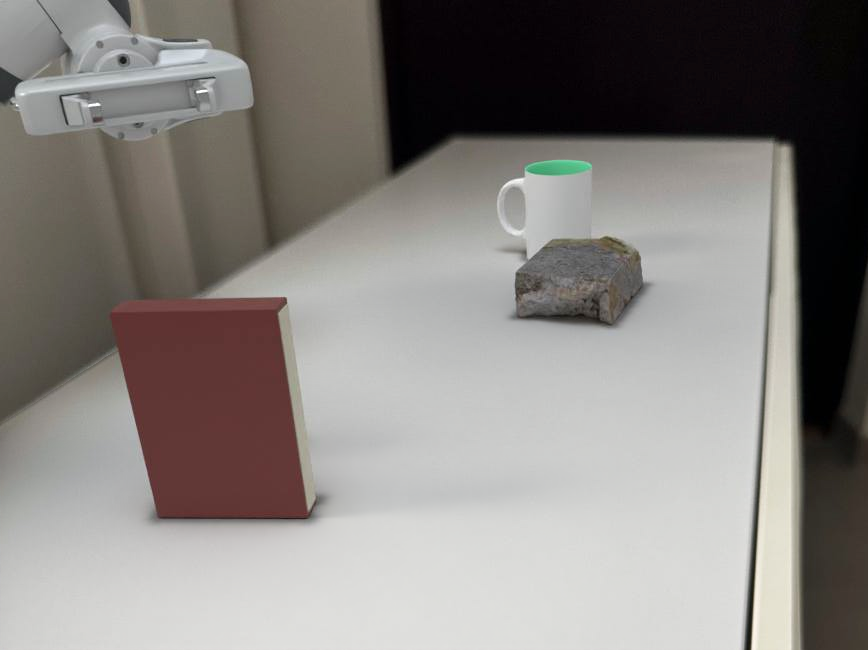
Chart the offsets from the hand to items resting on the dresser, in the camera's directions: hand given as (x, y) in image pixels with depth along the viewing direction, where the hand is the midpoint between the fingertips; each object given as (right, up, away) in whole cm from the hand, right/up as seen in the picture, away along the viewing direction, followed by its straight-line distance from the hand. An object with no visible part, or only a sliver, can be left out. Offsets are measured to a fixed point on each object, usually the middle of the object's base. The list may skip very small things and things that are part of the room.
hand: (151, 108), depth 88 cm
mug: (+36, +4, +45) cm, 57 cm away
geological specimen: (+39, -7, +30) cm, 50 cm away
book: (+9, -34, -5) cm, 36 cm away
